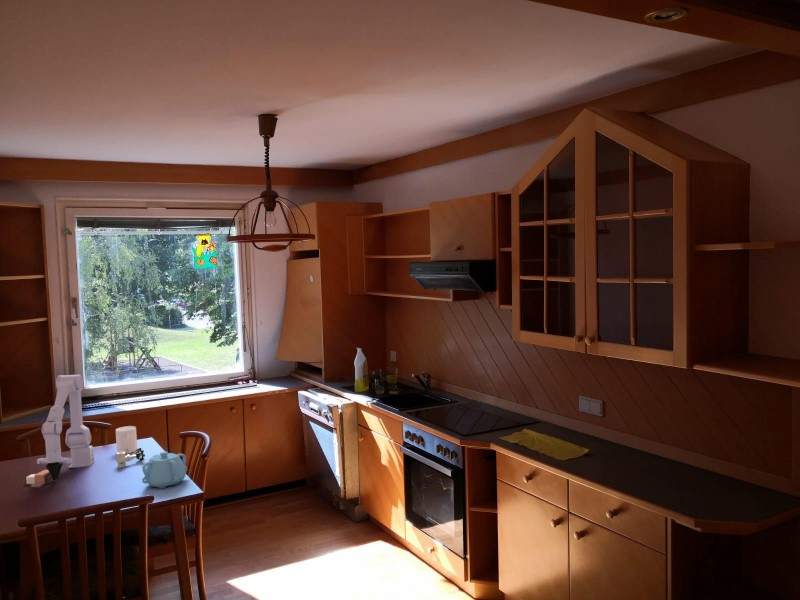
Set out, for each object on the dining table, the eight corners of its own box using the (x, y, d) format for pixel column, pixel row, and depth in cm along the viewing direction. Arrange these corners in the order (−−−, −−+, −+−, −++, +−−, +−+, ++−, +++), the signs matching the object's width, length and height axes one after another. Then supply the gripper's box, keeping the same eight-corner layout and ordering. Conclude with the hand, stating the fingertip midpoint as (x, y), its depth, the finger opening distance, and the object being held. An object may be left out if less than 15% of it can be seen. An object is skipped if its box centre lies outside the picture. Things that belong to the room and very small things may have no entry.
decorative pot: (176, 490, 272) (174, 458, 271) (138, 490, 273) (136, 458, 272) (191, 477, 288) (190, 446, 287) (156, 477, 289) (154, 446, 288)
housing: (57, 477, 295) (56, 467, 295) (39, 487, 282) (39, 477, 282) (48, 477, 295) (48, 467, 295) (30, 487, 283) (30, 477, 282)
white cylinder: (133, 447, 338) (131, 425, 338) (142, 452, 330) (140, 429, 329) (114, 452, 332) (112, 429, 331) (123, 456, 323) (121, 433, 322)
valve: (121, 469, 303) (145, 462, 313) (120, 455, 303) (144, 448, 312) (114, 466, 307) (137, 460, 317) (113, 452, 307) (137, 446, 316)
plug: (54, 480, 290) (53, 473, 290) (48, 483, 286) (48, 476, 286) (32, 480, 291) (32, 474, 291) (26, 483, 287) (26, 477, 287)
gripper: (31, 451, 284) (33, 482, 285) (63, 451, 283) (66, 482, 284) (41, 446, 291) (44, 477, 292) (73, 446, 290) (75, 477, 291)
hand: (55, 479), depth 288 cm, fingers closed
